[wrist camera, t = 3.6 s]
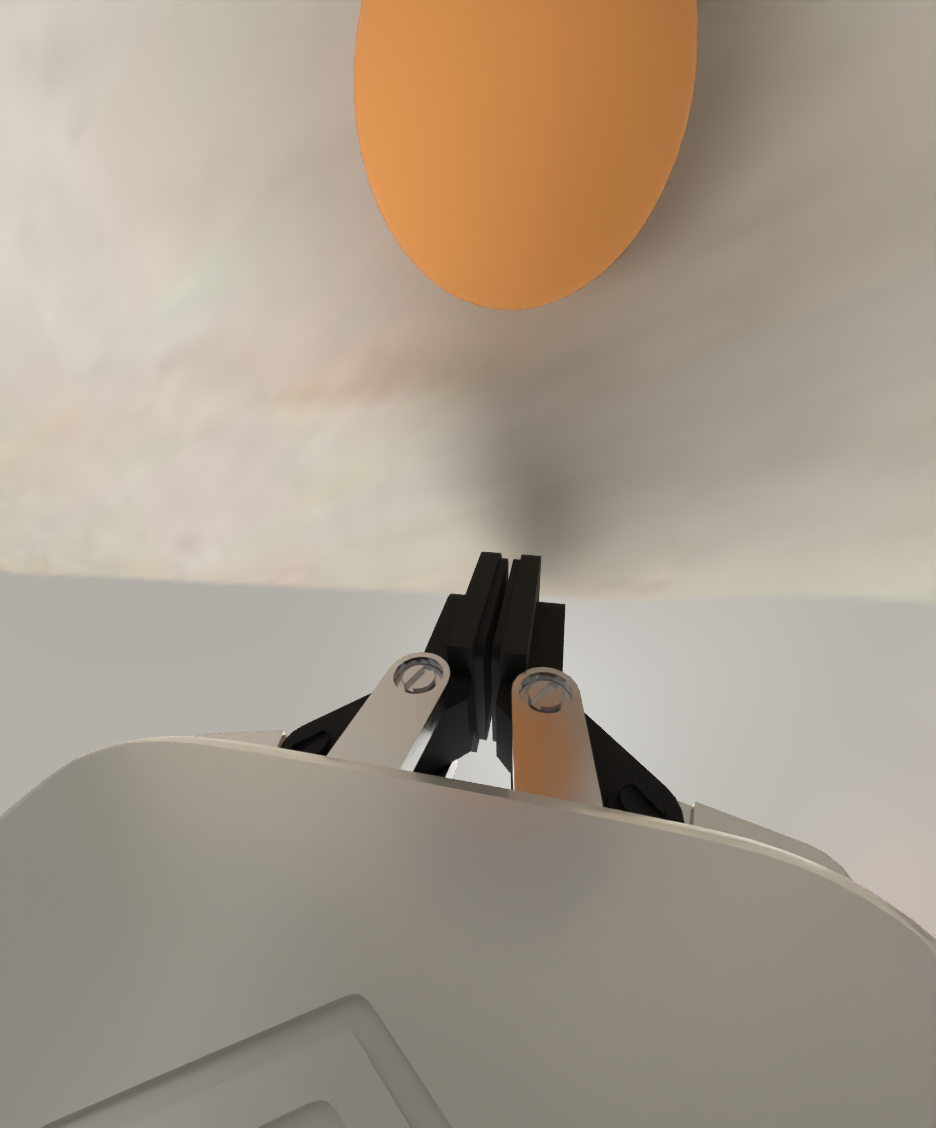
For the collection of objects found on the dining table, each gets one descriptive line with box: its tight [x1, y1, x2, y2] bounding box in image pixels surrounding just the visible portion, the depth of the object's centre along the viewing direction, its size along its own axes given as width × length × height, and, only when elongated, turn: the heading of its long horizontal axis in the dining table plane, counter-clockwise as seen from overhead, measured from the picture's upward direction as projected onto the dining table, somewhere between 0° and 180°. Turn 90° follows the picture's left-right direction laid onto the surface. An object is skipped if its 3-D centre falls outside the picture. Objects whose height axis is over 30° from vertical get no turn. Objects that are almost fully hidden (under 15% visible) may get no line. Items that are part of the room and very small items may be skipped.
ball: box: [354, 0, 698, 310], centre depth 7 cm, size 5×5×5 cm
